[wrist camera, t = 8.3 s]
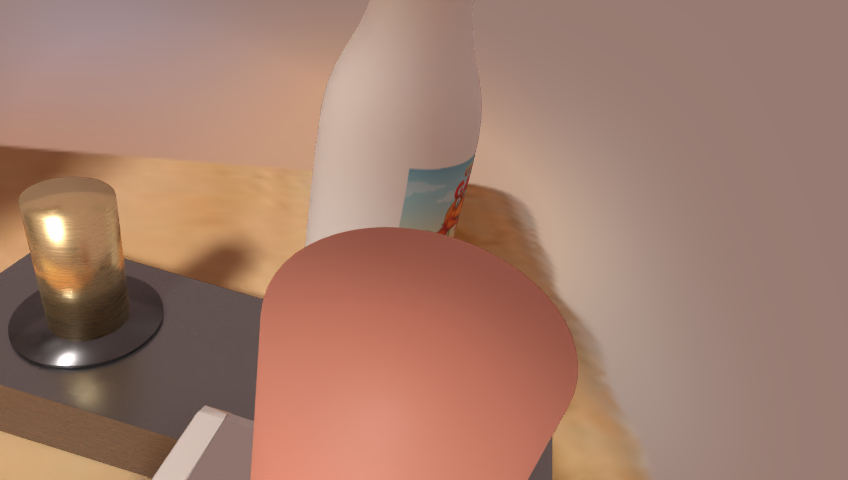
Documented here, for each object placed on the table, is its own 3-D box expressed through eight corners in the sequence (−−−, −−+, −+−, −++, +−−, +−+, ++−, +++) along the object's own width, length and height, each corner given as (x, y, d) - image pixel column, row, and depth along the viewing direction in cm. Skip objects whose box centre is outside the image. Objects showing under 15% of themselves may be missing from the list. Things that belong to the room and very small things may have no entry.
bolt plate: (-87, 403, 22) (-177, 212, 17) (61, 285, 29) (27, 123, 24) (526, 595, 21) (620, 449, 16) (532, 424, 27) (600, 283, 22)
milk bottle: (320, 358, 28) (382, -92, 17) (286, 265, 34) (317, -121, 23) (453, 335, 32) (577, -53, 20) (403, 254, 37) (479, -87, 26)
